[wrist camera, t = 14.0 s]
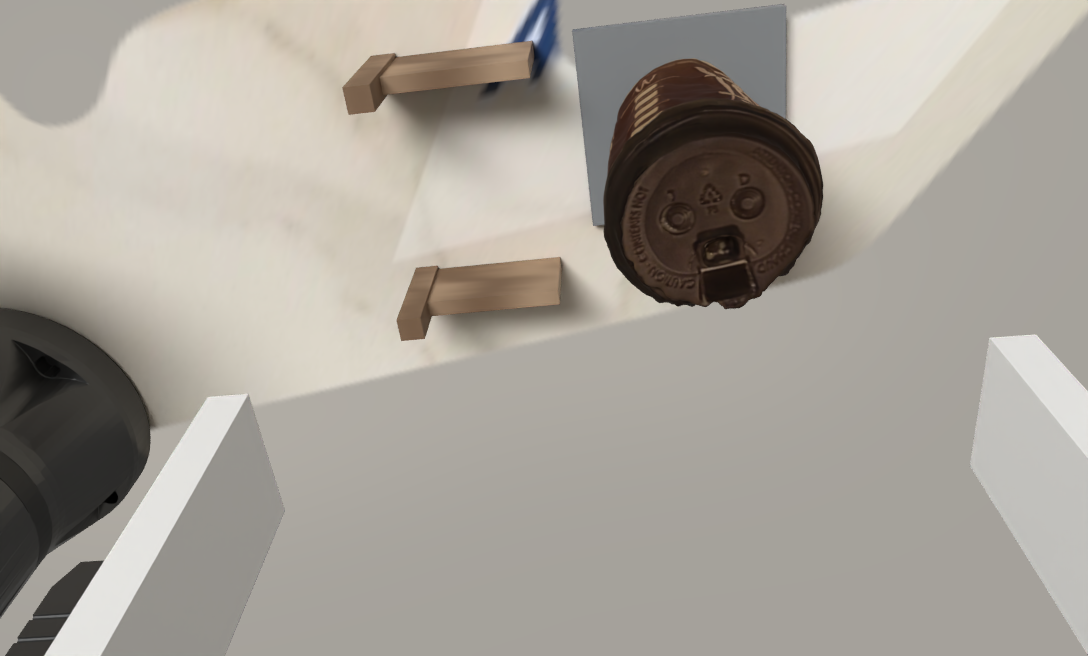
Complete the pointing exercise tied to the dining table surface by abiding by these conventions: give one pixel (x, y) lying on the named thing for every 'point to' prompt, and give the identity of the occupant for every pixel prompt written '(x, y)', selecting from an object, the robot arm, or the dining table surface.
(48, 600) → the robot arm
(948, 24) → the dining table surface
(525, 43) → the cup holder rails
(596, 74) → the coaster
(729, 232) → the coffee cup
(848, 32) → the dining table surface
